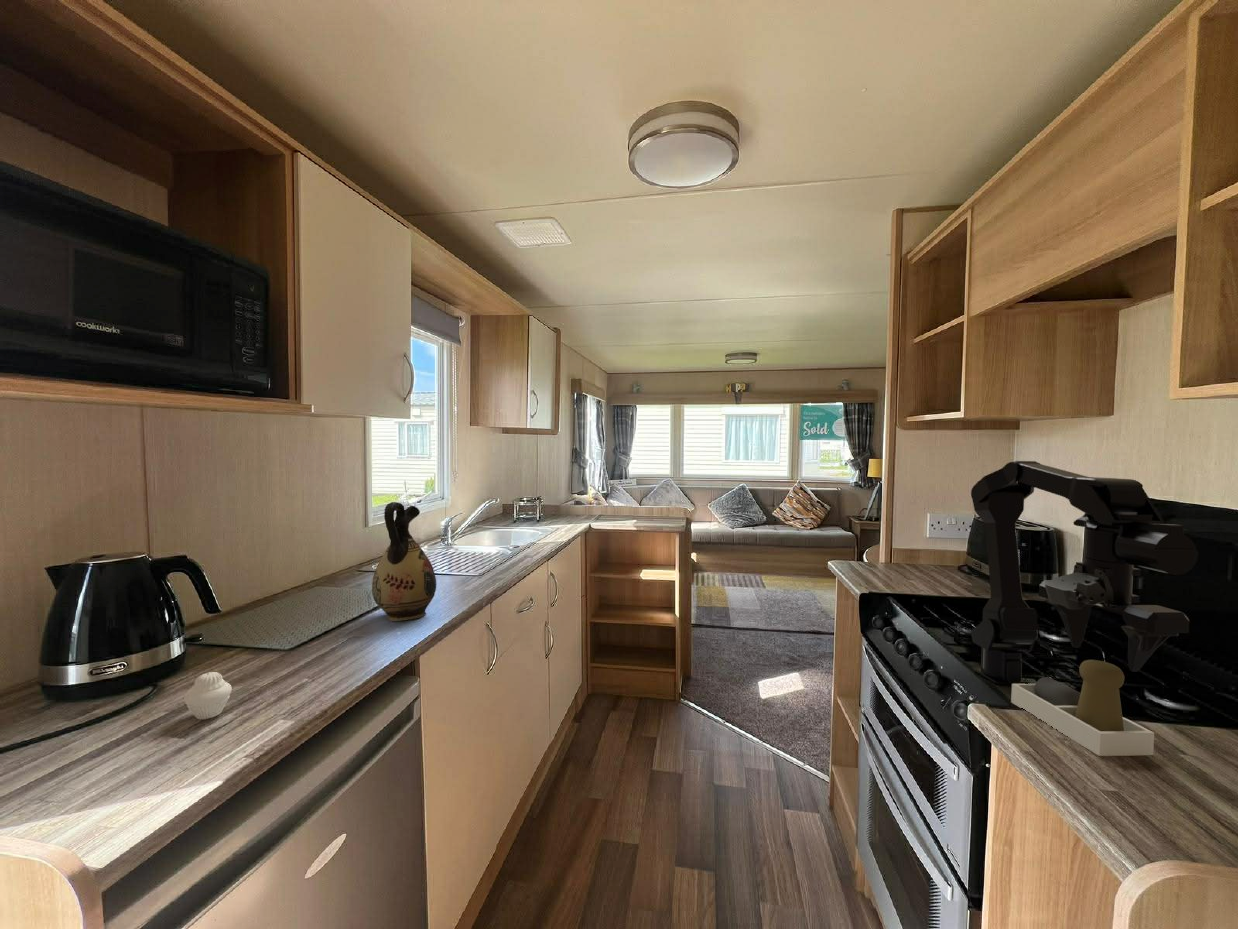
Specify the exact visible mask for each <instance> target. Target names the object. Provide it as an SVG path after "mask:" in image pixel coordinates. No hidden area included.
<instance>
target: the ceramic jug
mask: <svg viewBox="0 0 1238 929" xmlns="http://www.w3.org/2000/svg"><path fill="white" fill-rule="evenodd" d="M420 513H421V511H420V509H419V508H418V507H417V506H415V505H410V506H408V507H406V508H405V506H404V505H403V504H402V503H401V502H397V501H391V502H390V503H387V504H386V505H385V507H384V512H383V514H384V518H383V519H384V523H385V525H386V526H385V527H386V530H387V533H388V539H389V540H390V541H389V542H390V543H389V545H388V547H386V549H385V551H384V553H383V554H382V556H381V558H380V560H379V561H378V563H377V565H376V568H375V570H374V573H373V575H372V576H373V577H372V582H371V591H372V592H371V593H372V597H373V601H374V603H375V604H376V606H378V607H379V609H381V610H382V611H383V612H384V614H385V615H386V617H387V619H388V620H389V621H392V622H397V621H398V622H399V621H407V620H415V619H420V618H421V617H423V616H426V615H427V613H426V609H427V608H428V607H429V605H430V604H431V602H432V600H433V599H434V597H435V595H436V590H437V578H436V573H435V570H434V567H433V564H432V563H431V560H430V559H429V557H428V556H427V555H426V552H424V550H423V549H422V548H421V546H420V545H419V543H418V542H416V541H415V540H416V539H414V538H413V536H412V534H411V533H410V530H409V528H410V523H411V522H412V521H413V520H414V519H415V518H417V517H418V516H419V515H420ZM395 515H396V516H395Z"/></svg>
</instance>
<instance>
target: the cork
mask: <svg viewBox="0 0 1238 929" xmlns="http://www.w3.org/2000/svg"><path fill="white" fill-rule="evenodd" d="M1078 668H1079V670H1078V671H1079V675H1080V677H1081V678H1082V680H1083V681H1082V685H1081V690H1080V693H1081V694H1080V698H1079V702H1078V706H1077V711H1076V715H1075V717H1076V718H1077V719H1079V720H1081V721H1083V722H1084V723H1086V724H1088V725H1090V726H1092V727H1093V728H1095V729H1097V730H1099V731H1124V726H1123V718H1122V717H1123V711H1122V710H1123V709H1122V703H1121V697H1120V696H1121V694H1120V688H1122V686H1123V685H1124V682H1125V674H1124V672H1123V670H1122V669H1121V668H1120V667H1119V666H1116V665H1115V664H1114V663H1110V662H1107V661H1102V660H1099V659H1098V660H1097V659H1086V660H1083V661H1082V662H1081V663H1080V665H1079V667H1078Z"/></svg>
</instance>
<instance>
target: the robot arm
mask: <svg viewBox="0 0 1238 929" xmlns="http://www.w3.org/2000/svg"><path fill="white" fill-rule="evenodd" d="M1143 487H1144V485H1143V484H1142V483H1141V482H1140V481H1138V480H1136V479H1132V478H1130V479H1129V478H1116V477H1098V476H1097V477H1095V476H1087V475H1083V474H1079V473H1075V472H1071V471H1067V470H1063V469H1061V468H1057V467H1053V466H1049V465H1046V464H1042V463H1040V462H1037V461H1034V460H1013V461H1009V462H1007V463H1006V464H1005V465H1004V466H1003V467H1002V468H1000V469H997V470H995V471H994V472H993V471H992V472H991V473H989V474H988V473H987V474H986V475H984V476H983V477H981V479H980V480H978V481H977V482H976V483H975V484H974V485H973V486H972V488H971V491H970V495H971V496H970V497H971V499H972V504H973V510H974V513H976V515H977V516H978V517H979V518H980V520H982V522H983V524H984V528H985V540H986V550H987V551H986V552H987V553H986V554H987V564H988V575H989V586H990V587H989V588H990V596H989V599H987V600H988V601H987V602H986V603H985V605H984V606H983V609H982V620H981V622H979V623H978V624H977V626H975V627H974V628H973V629H972V630H971V631H970V634H971V641H972V643H973V644H975V645H977V646H978V647H981V655H980V656H981V657H980V658H981V659H980V660H981V661H980V667H973V671H974V672H976V673H977V674H979V675H981V676H983V677H984V678H986V679H987V680H989V681H991V682H993V683H994V684H997V685H1012V684H1025V683H1028V684H1029V682H1028V680H1026V679H1025V678H1024V677H1022V673H1023V672H1022V670H1023V669H1022V668H1023V661H1022V652H1021V651H1023V652H1032V650H1033V648H1034V645H1035V643H1036V642H1035V641H1036V640H1037V639H1038V634H1039V631H1041V630H1040V626H1039V623H1038V612H1037V610H1036V608H1034V607H1030V606H1029V605H1028V603H1026V601H1025V599H1024V598H1023V592H1022V583H1021V571H1020V560H1019V549H1018V538H1017V530H1016V529H1017V528H1016V524H1017V522H1018V520H1019V518H1020V517H1021V515H1022V513H1023V512H1024V510H1025V500H1026V499H1027V498H1028V497H1030V495H1033V494H1034V492H1035V489H1038V490H1041V491H1044V492H1047V493H1051V494H1054V495H1057V496H1060V497H1063V498H1064V499H1066V500H1068V501H1069V504H1070V506H1072V507H1074V508H1075V509H1077V510H1079V511H1081V512H1083V515H1082V516H1081V517H1079V518H1076V519H1075V520H1073V525H1074V526H1076V527H1082V528H1084V536H1083V537H1084V538H1083V539H1084V540H1083V543H1084V544H1083V561H1082V562H1081V561H1076V562H1075V564H1074V565H1073V572H1072V573H1069V574H1064V575H1060V576H1058V577H1055V578H1052V579H1050V580H1049V579H1046V580H1045V579H1044V580H1043V581H1041V583H1040V584H1039V585H1038V596H1039V597H1041V598H1045V599H1044V601H1045V603H1046V604H1048V605H1050V606H1051V607H1052V608H1053V609H1055V610H1056V611H1057V612H1058V614H1059V616H1060V618H1061V621H1062V623H1063V625H1064V628H1065V632H1066V634H1067V636H1068V639H1069V641H1070V645H1071V647H1073V648H1076V649H1077V648H1081V646H1082V643H1083V640H1084V639H1085V635H1086V630H1087V627H1088V622H1089V618H1090V615H1091V610H1092V607H1096V608H1098V609H1102V610H1105V611H1107V612H1111V613H1115V614H1117V615H1120V616H1122V620H1123V621H1124V623H1125V624H1126V625H1120V628H1121V629H1122V630H1123V631H1124V634H1126V635H1127V637H1128V638H1127V639H1128V640H1127V663H1128V665H1127V666H1128V669H1129V671H1131V672H1139V671H1140V670H1141V668H1142V667H1143V666H1144V665H1145V663H1146V662H1148V660H1149V659H1150V658H1151V657H1152V655H1153V653H1154V652H1156V650H1157V649H1158V648H1159V647H1160V646H1161V645H1162V644H1163V643H1164V642H1165V641H1167V639H1168V638H1170V637H1178V636H1179V634H1190V619H1189V617H1188V616H1187V615H1186V614H1185V612H1183V611H1179V610H1177V609H1176V610H1175V609H1172V608H1169V607H1165V606H1161V605H1158V604H1140V598H1141V596H1140V595H1137V594H1133V587H1134V586H1133V582H1134V577H1141V576H1142V569H1141V568H1143V569H1148V570H1151V571H1156V572H1160V573H1164V574H1169V575H1173V576H1179V575H1183V574H1186V573H1188V572H1190V570H1192V569H1193V568H1194V567H1195V565H1196V564H1197V561H1198V558H1199V550H1198V549H1197V546H1196V544H1195V542H1194V541H1193V540H1192V539H1191V538H1190V537H1189V536H1187V535H1186V534H1184V526H1183V525H1182V524H1177V523H1176V524H1175V523H1173V524H1172V523H1170V524H1169V523H1166V522H1165V520H1164V518H1163V517H1162V515H1161V513H1160V512H1159V511H1158V509H1157V508H1156V507H1155V505H1154V503H1153V501H1152V500H1151V498H1150V497H1149V495H1148V493H1146V491H1145V489H1144V488H1143ZM1135 566H1136V567H1139V568H1136V567H1135Z"/></svg>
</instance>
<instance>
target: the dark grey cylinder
mask: <svg viewBox="0 0 1238 929" xmlns="http://www.w3.org/2000/svg"><path fill="white" fill-rule="evenodd" d="M1035 683H1036V685H1035V693H1036V695H1037V696H1038V697H1040V698H1042V699H1043V700H1045V701H1047V702H1049V703H1051V704H1052V705H1054V706H1069V705H1078V702H1079V698H1080V694H1081V691H1077V690H1075V689H1074V688H1072V687H1069V686H1068V685H1065V684H1063V683H1061V682H1059V681H1057V680H1055V679H1053V678H1051V677H1049V676H1043V677H1041V678H1039V679H1038V680H1037V681H1036V682H1035Z"/></svg>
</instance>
